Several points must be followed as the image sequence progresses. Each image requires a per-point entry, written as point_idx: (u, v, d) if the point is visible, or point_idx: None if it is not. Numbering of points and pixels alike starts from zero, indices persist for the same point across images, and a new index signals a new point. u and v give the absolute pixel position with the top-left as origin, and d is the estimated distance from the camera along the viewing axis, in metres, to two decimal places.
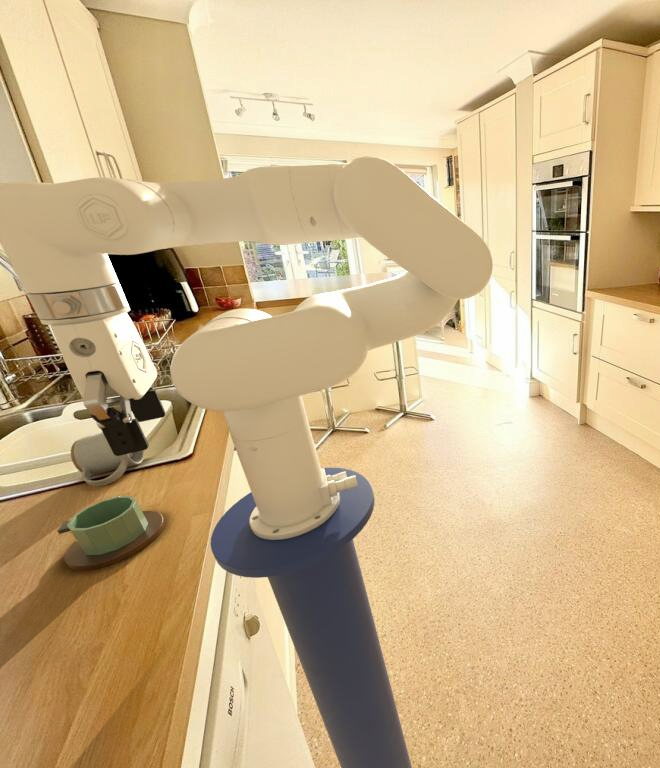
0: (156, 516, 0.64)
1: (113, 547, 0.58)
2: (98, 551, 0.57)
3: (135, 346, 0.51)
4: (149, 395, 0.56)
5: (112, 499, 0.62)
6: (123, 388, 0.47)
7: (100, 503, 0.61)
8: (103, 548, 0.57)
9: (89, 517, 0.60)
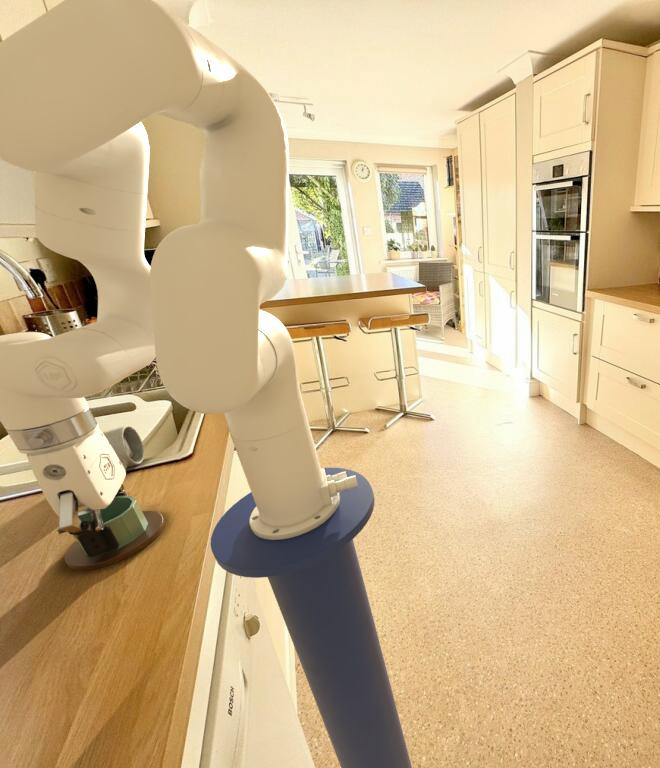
0: (156, 516, 0.64)
1: None
2: None
3: (104, 457, 0.57)
4: None
5: None
6: (91, 502, 0.54)
7: None
8: None
9: (89, 517, 0.60)
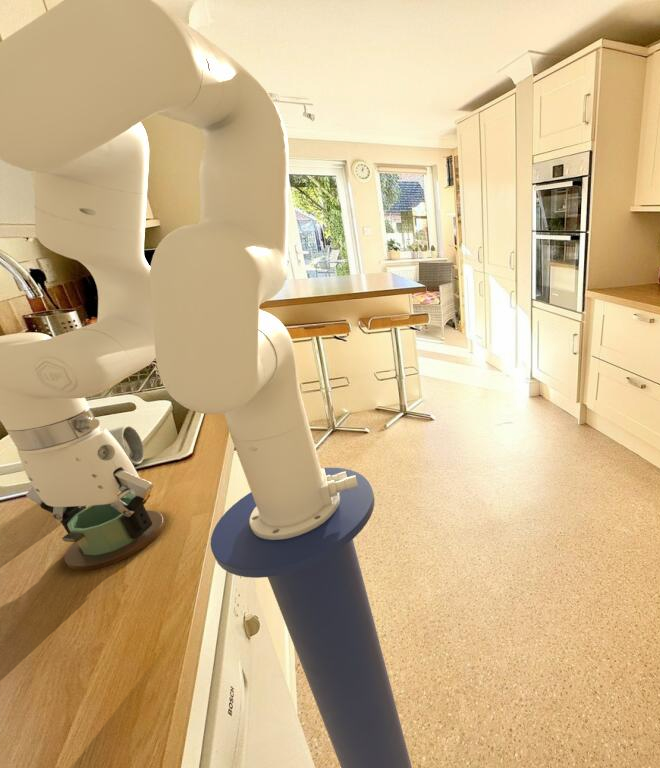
0: (156, 516, 0.64)
1: None
2: (129, 538, 0.59)
3: None
4: None
5: (86, 510, 0.60)
6: (135, 476, 0.59)
7: (77, 516, 0.58)
8: None
9: None
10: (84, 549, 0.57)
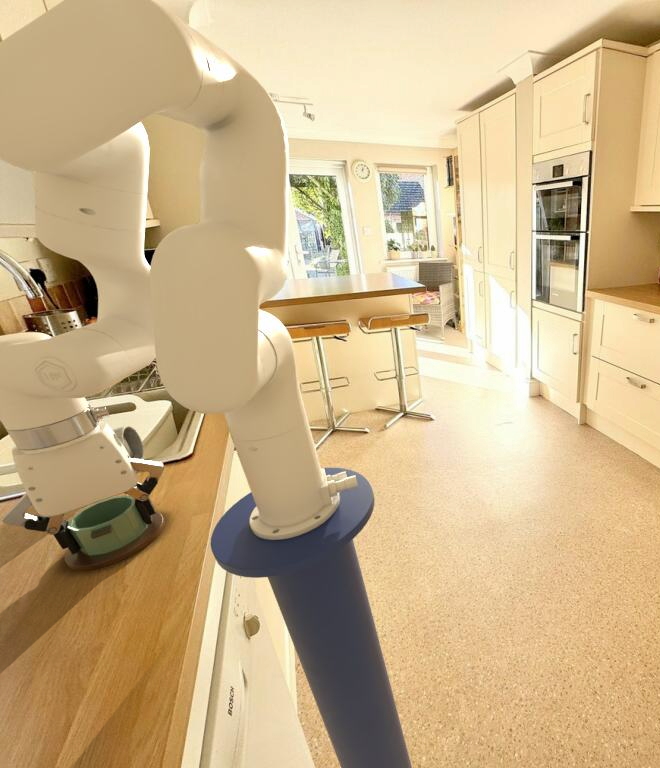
0: (156, 516, 0.64)
1: None
2: (145, 524, 0.62)
3: None
4: None
5: (72, 522, 0.57)
6: None
7: (73, 526, 0.57)
8: (144, 521, 0.62)
9: None
10: (107, 546, 0.58)
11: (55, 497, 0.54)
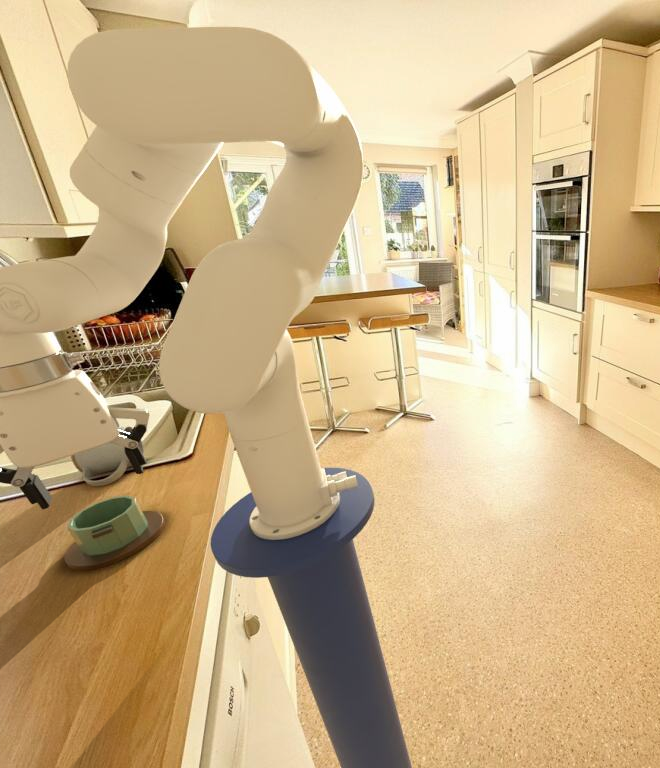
0: (156, 516, 0.64)
1: (145, 518, 0.63)
2: (145, 524, 0.62)
3: None
4: (37, 477, 0.54)
5: (72, 522, 0.57)
6: (115, 418, 0.58)
7: (73, 526, 0.57)
8: (145, 520, 0.62)
9: None
10: (108, 546, 0.58)
11: (30, 446, 0.50)
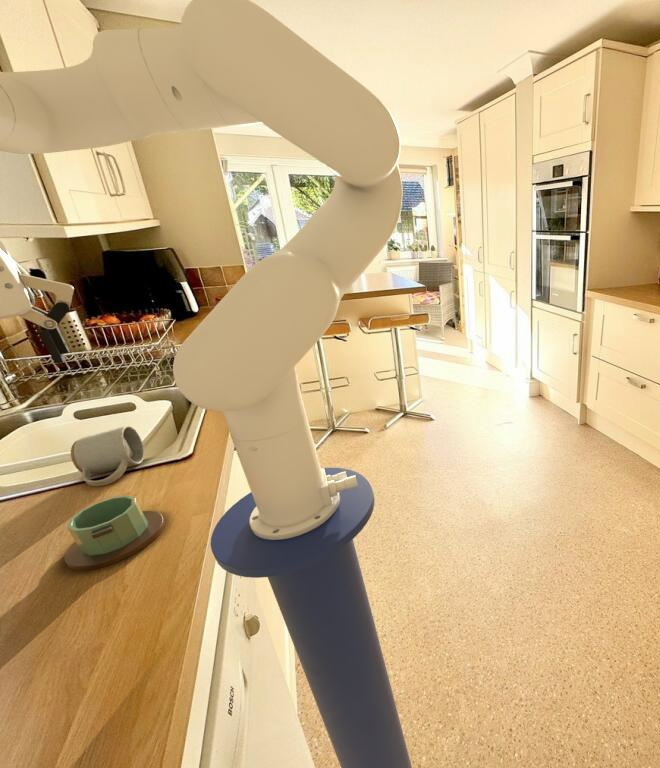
0: (156, 516, 0.64)
1: (145, 518, 0.63)
2: (145, 524, 0.62)
3: None
4: None
5: (72, 522, 0.57)
6: None
7: (73, 526, 0.57)
8: (145, 520, 0.62)
9: None
10: (108, 546, 0.58)
11: None
